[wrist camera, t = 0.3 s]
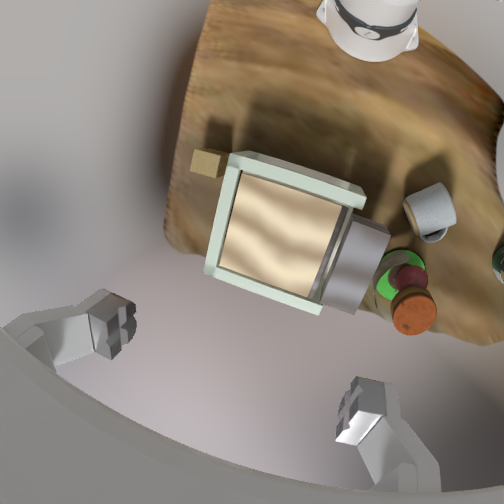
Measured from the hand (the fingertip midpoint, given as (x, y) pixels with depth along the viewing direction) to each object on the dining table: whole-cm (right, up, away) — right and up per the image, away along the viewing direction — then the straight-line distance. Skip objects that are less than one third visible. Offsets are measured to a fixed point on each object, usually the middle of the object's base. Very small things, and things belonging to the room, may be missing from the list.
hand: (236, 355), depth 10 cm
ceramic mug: (+32, +11, +38) cm, 51 cm away
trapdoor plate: (+9, +5, +39) cm, 40 cm away
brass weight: (-6, +21, +45) cm, 50 cm away
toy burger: (+29, 0, +43) cm, 52 cm away
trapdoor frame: (+7, +9, +46) cm, 47 cm away
